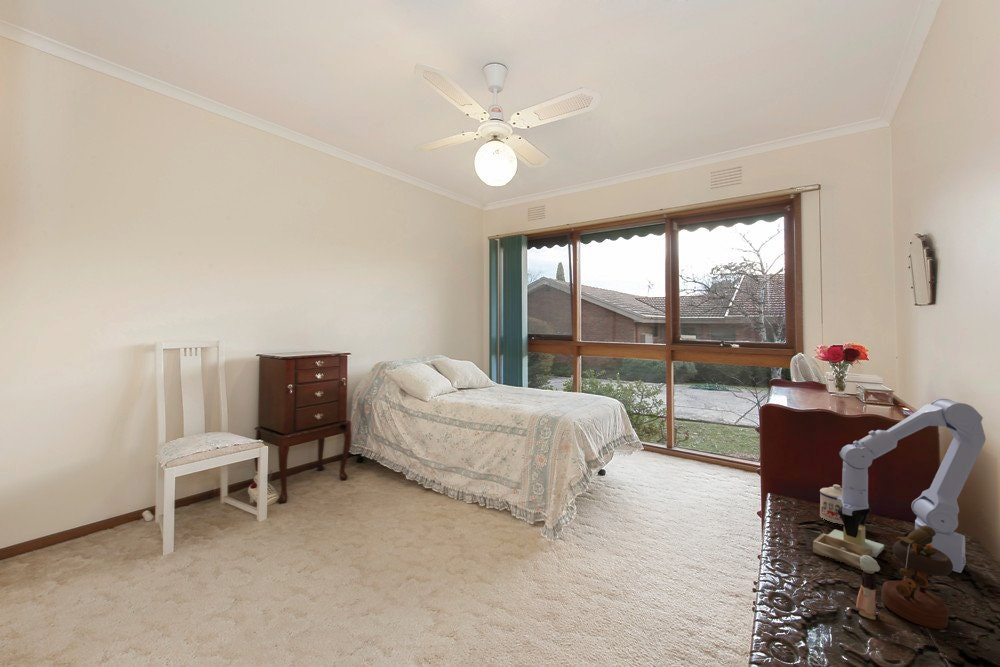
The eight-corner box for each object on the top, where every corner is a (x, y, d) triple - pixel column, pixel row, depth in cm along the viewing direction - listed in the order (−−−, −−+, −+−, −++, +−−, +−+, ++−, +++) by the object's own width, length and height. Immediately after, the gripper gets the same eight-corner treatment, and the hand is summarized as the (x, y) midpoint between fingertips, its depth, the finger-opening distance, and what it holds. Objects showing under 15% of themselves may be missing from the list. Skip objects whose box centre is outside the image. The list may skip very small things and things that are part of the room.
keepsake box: (872, 561, 112) (872, 549, 112) (863, 570, 107) (863, 558, 107) (822, 544, 121) (822, 533, 121) (812, 552, 116) (812, 541, 116)
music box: (941, 641, 83) (943, 541, 83) (871, 609, 92) (872, 520, 92) (961, 614, 91) (962, 523, 91) (894, 587, 100) (895, 505, 100)
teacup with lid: (815, 519, 137) (816, 484, 137) (823, 511, 143) (823, 478, 143) (863, 533, 128) (863, 495, 128) (869, 524, 134) (869, 488, 134)
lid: (884, 550, 118) (884, 529, 118) (875, 559, 114) (876, 537, 113) (834, 534, 128) (835, 514, 128) (825, 541, 123) (825, 521, 123)
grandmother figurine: (855, 601, 95) (856, 546, 95) (878, 609, 92) (878, 552, 92) (856, 619, 89) (857, 561, 89) (880, 627, 86) (881, 567, 86)
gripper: (845, 478, 128) (845, 521, 128) (829, 488, 120) (828, 534, 120) (875, 485, 122) (875, 530, 122) (860, 495, 114) (860, 545, 114)
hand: (854, 533), depth 121 cm, fingers open, 5 cm apart
